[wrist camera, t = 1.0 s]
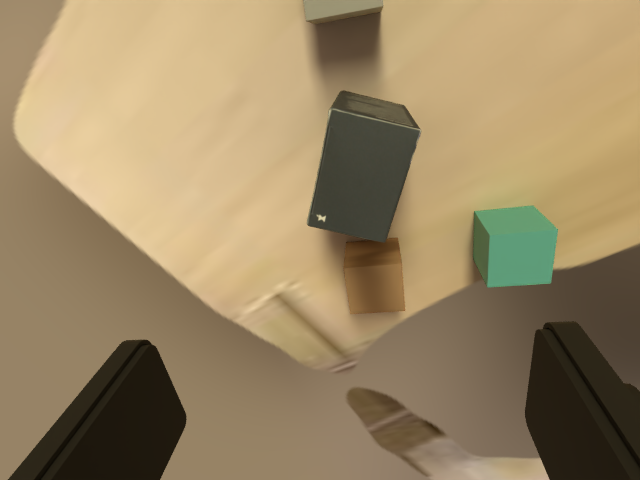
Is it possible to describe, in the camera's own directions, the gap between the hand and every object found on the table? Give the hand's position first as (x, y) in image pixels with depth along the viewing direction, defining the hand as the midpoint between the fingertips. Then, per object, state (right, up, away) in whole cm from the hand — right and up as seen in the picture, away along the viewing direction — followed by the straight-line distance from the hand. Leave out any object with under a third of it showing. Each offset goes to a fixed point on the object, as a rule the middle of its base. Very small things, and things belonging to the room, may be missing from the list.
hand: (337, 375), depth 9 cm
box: (+3, +12, +23) cm, 27 cm away
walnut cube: (+5, +1, +29) cm, 29 cm away
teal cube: (+17, +4, +26) cm, 31 cm away
